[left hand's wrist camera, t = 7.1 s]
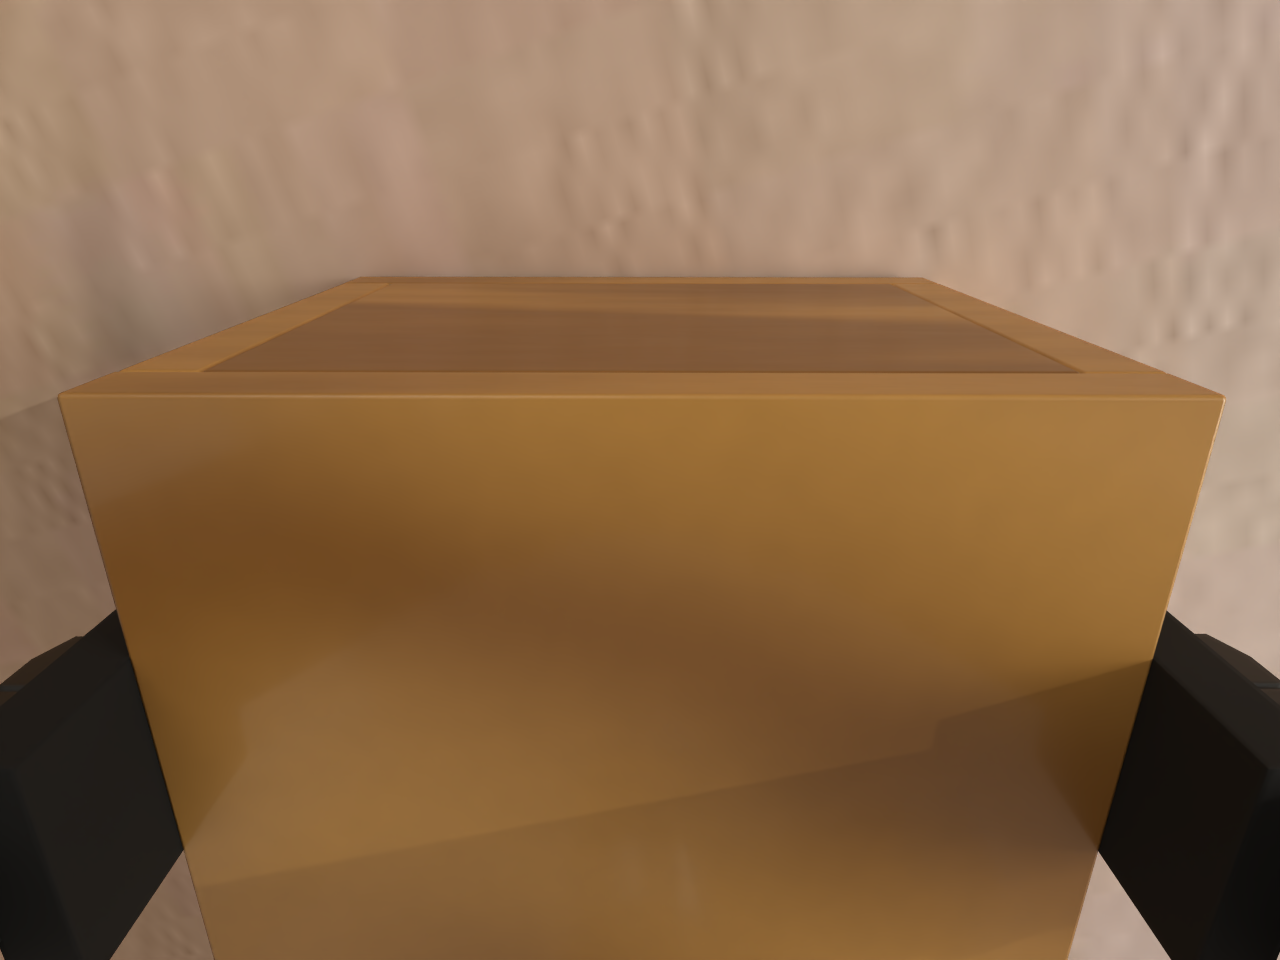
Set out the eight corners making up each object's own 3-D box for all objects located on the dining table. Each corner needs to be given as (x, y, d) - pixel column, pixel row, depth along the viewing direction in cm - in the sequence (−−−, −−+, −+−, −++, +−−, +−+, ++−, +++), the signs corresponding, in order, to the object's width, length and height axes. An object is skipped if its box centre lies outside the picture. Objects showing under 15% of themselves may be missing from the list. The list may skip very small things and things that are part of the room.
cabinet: (825, 1036, 23) (919, 1484, 15) (455, 1035, 23) (359, 1482, 15) (924, 277, 15) (1230, 395, 7) (358, 276, 15) (52, 393, 7)
